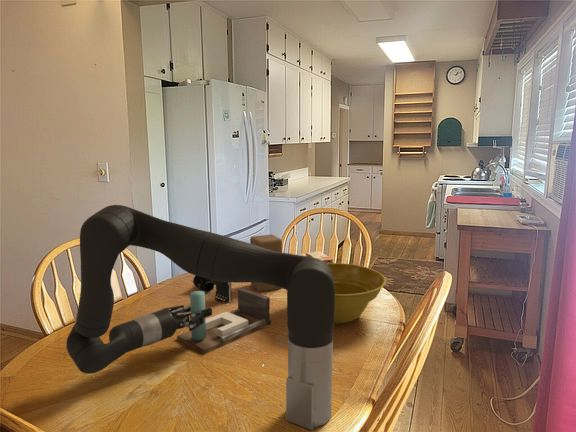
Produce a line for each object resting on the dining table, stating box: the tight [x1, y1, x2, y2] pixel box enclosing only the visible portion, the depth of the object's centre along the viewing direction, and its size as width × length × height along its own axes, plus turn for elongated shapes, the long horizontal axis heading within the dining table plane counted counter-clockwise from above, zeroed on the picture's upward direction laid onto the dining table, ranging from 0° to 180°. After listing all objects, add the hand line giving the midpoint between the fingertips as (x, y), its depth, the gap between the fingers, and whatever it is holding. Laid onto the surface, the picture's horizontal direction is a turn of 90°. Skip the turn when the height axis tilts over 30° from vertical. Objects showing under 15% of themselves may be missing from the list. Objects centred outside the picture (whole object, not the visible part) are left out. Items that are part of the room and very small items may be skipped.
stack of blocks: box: [296, 251, 334, 263], centre depth 175 cm, size 21×6×12 cm, turn 21°
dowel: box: [189, 290, 207, 340], centre depth 121 cm, size 4×4×13 cm
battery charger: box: [212, 280, 232, 304], centre depth 154 cm, size 7×4×11 cm, turn 49°
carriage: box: [206, 310, 248, 337], centre depth 129 cm, size 10×10×2 cm
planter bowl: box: [326, 262, 387, 325], centre depth 141 cm, size 32×32×13 cm
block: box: [249, 234, 283, 293], centre depth 168 cm, size 10×10×20 cm
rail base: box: [176, 287, 273, 355], centre depth 129 cm, size 26×13×9 cm, turn 138°
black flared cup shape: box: [192, 275, 216, 292], centre depth 169 cm, size 9×11×18 cm
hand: (205, 309), depth 123 cm, fingers closed on dowel, 4 cm apart
